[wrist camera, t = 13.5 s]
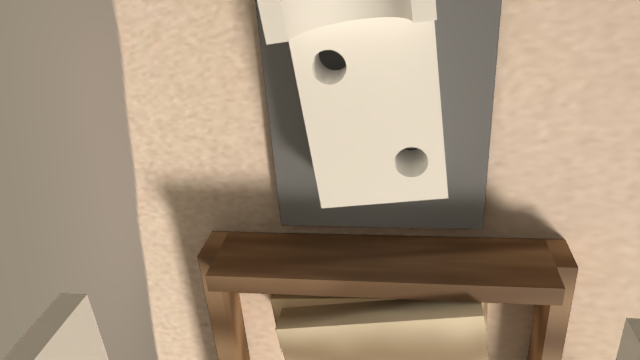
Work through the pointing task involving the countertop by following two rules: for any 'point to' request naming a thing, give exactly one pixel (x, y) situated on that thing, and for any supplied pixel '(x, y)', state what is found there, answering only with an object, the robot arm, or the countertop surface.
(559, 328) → the walnut rack
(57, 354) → the robot arm
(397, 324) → the maple offcut top
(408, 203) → the charcoal mat
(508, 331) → the countertop surface
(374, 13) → the bracket
